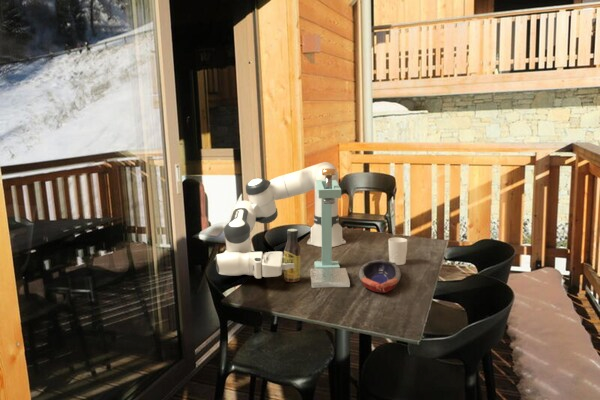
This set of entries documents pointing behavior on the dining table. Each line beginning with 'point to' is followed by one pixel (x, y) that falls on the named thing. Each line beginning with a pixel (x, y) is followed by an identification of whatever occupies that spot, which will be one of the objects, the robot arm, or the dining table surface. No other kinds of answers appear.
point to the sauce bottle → (292, 256)
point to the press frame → (327, 223)
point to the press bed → (329, 277)
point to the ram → (328, 183)
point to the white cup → (397, 250)
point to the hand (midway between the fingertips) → (294, 262)
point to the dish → (380, 275)
